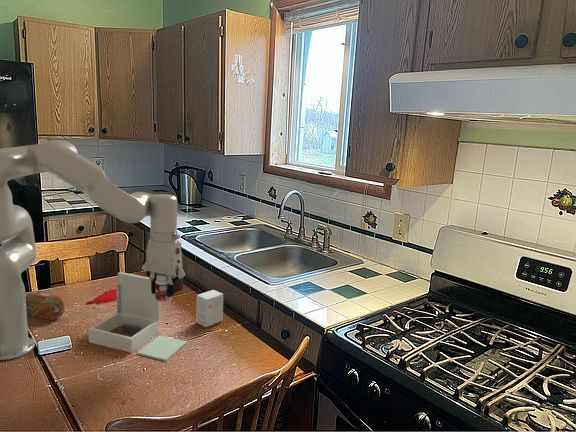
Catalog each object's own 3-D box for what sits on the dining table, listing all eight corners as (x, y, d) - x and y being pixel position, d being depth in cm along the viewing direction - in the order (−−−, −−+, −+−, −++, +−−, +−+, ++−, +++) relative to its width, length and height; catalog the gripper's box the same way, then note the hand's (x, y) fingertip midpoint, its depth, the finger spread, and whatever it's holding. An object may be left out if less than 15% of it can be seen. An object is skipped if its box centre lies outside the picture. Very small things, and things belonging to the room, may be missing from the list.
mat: (166, 361, 130) (166, 359, 130) (137, 354, 133) (137, 352, 133) (187, 343, 141) (187, 341, 141) (160, 337, 144) (160, 335, 144)
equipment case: (131, 352, 134) (131, 295, 130) (88, 342, 138) (87, 286, 135) (160, 331, 148) (160, 279, 144) (120, 322, 153) (120, 272, 149)
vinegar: (178, 284, 191) (179, 240, 187) (185, 289, 186) (186, 243, 182) (163, 287, 187) (163, 241, 183) (170, 292, 182) (171, 245, 178)
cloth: (143, 285, 189) (143, 280, 188) (155, 296, 178) (155, 291, 178) (77, 296, 173) (77, 291, 173) (86, 309, 163) (86, 303, 162)
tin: (22, 315, 153) (21, 292, 152) (30, 311, 156) (28, 289, 155) (59, 322, 150) (58, 299, 148) (66, 318, 153) (65, 295, 151)
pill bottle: (154, 297, 135) (154, 272, 134) (170, 296, 137) (170, 271, 135) (155, 303, 131) (155, 277, 129) (172, 302, 133) (172, 276, 131)
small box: (212, 316, 162) (213, 289, 160) (223, 320, 159) (223, 293, 157) (195, 322, 156) (196, 294, 154) (205, 327, 153) (206, 299, 151)
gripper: (195, 237, 131) (194, 294, 135) (146, 229, 136) (146, 285, 140) (182, 243, 124) (181, 303, 128) (131, 235, 129) (131, 293, 133)
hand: (163, 293), depth 134 cm, fingers closed on pill bottle, 4 cm apart
